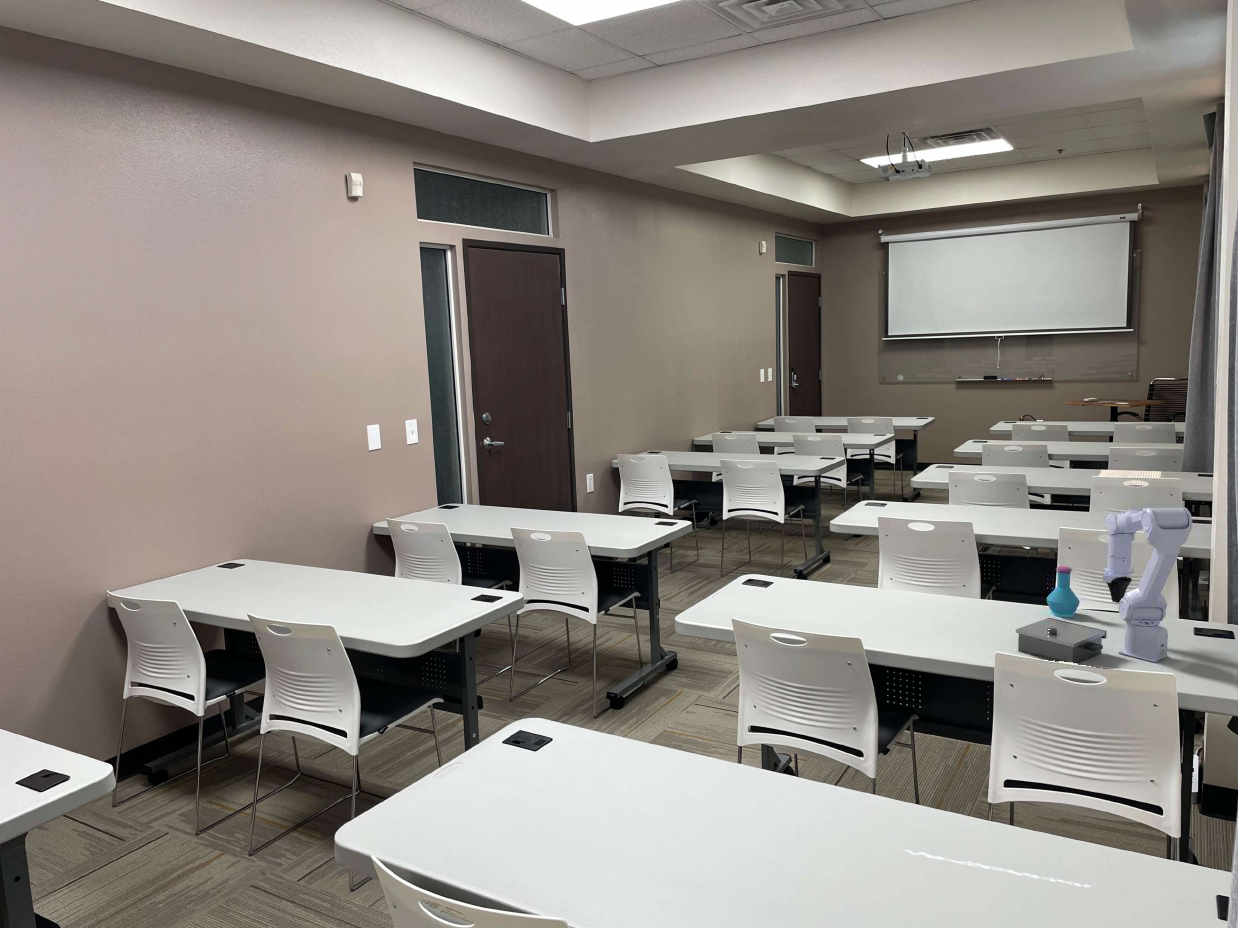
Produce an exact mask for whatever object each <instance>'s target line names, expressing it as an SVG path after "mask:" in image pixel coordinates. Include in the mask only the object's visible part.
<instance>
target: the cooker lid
mask: <svg viewBox="0 0 1238 928" xmlns="http://www.w3.org/2000/svg"><path fill="white" fill-rule="evenodd" d="M1107 632H1108V631H1107V630H1104V629H1101V628H1095V627H1091V626H1086V625H1082V624H1079V623H1073V622H1069V621H1065V620H1063V619H1062V620H1061V619H1056V618H1053V617H1052V618H1051V617H1047V618H1044V619H1041V620H1038V621H1035V622H1033V623H1030V624H1026V625H1024V626H1021V627H1019V628H1016V629H1015V633H1016V634H1018V635H1019V634H1023V635H1027V636H1030V637H1034V638H1038V639H1042V640H1046V641H1050V642H1054V643H1058V644H1062V645H1066V646H1070V647H1073V648H1074V647H1076V646H1079V645H1081V644H1084V643H1086V642H1089V641H1091V640H1094V639H1096V638H1099V637H1102V640H1103V639H1107V637H1108V636H1107V635H1108V634H1107Z"/></svg>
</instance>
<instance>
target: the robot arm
mask: <svg viewBox="0 0 1238 928" xmlns="http://www.w3.org/2000/svg"><path fill="white" fill-rule="evenodd" d="M1105 529H1106V532H1107V534H1108V546H1107V548H1108V550H1107V567H1103V569H1102V571H1103V572H1104V574H1102V582H1103V583H1106V585H1107V587H1108V589H1109V593H1110V598H1111V600H1112V601H1111V602H1113V603H1117V604H1118V607H1117V608H1118V614H1119V616H1120V618H1121V619H1122V620H1123V621H1124V622H1125V632H1124V633H1125V634H1124V648H1122V649H1120V650H1117V653H1118V654H1120V655H1124V656H1128V657H1132V658H1137V659H1140V660H1145V661H1148V662H1152V663H1156V662H1158V661H1160V660H1162V659H1164V658H1167V657H1168V656H1169V654H1168V641H1169V639H1168V638H1169V633H1168V632H1169V631H1168V629H1167V628H1166V627H1164V626H1160V624H1161V622H1163V620H1164V619H1165V618H1166V614H1167V613H1166V612H1167V611H1166V610H1167V606H1168V603H1167V600H1166V598H1165V597H1164V595H1163V594H1162V592H1163V590H1164V587H1165V585H1166V582H1167V580H1168V578H1169V577H1170V574H1171V572H1172V570H1173V567H1174V565H1175V564H1176V561H1177V558H1178V556H1179V554H1180V551H1181V550H1182V549H1181V548H1182V546H1183V545H1184V544H1186V542H1187V540H1188V538H1189V536H1190V534H1191V531H1192V529H1193V517H1192V514H1191V511H1189V509H1188V508H1187V507H1143V508H1142V510H1139V509H1137V508H1135V507H1134V508H1133V507H1132V508H1131V507H1130V508H1128V511H1121V512H1120V513H1119V514H1112V513H1109V514H1108V515H1107V516H1106V518H1105ZM1142 530H1143V533H1144V537H1145V539H1146V542H1147V544H1148V545H1150V546H1152V547H1153V548H1154V549H1153V550H1152V553H1151V556H1150V558H1149V560H1148V562H1147V565H1146V568H1145V569H1144V572H1143V574H1142V576H1141V579H1140V581H1139V583H1138V586H1137V588H1134V589H1132V590H1130V591H1128V592H1127V589H1128V587H1129V585H1130V583H1131V582H1132V580H1133V579H1132V577H1130V576H1132V575H1133V574H1134V573H1135V566H1131V565H1132V551H1133V550H1132V547H1133V541H1135V535H1136V533H1137V532H1138V531H1142Z"/></svg>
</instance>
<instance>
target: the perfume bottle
mask: <svg viewBox="0 0 1238 928" xmlns="http://www.w3.org/2000/svg"><path fill="white" fill-rule="evenodd" d="M1055 570H1056V573H1057V580H1056V581H1057V583H1056V585H1057V586H1056V587H1055V588H1054V590H1052V592H1051V593H1049V595H1048V596H1047V597H1046V602H1047V605H1048V608H1049V610H1051V611H1050V614H1051V615H1052V616H1054V617H1058V618H1073V617H1075V613H1076V612H1077V609H1078V608H1079V606H1080V602H1081V601H1080V600H1079V598H1078V597H1077V595H1076V594H1075V592H1074V591H1073V590H1072V588H1071V574H1072V572H1073V570H1072V568H1071V567H1069V566H1064V565H1063V566H1058V567H1056V568H1055Z"/></svg>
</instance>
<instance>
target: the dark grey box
mask: <svg viewBox="0 0 1238 928" xmlns="http://www.w3.org/2000/svg"><path fill="white" fill-rule="evenodd" d="M1102 641H1103V638H1102V637H1099V638H1096V639H1094V640H1091V641H1089V642H1086V643H1084V644H1081V645H1079V646H1076V647H1074V648H1073V647H1070V646H1066V645H1062V644H1058V643H1054V642H1050V641H1046V640H1042V639H1038V638H1034V637H1030V636H1027V635H1023V634H1019V633H1018V640H1017V642H1018V644H1017V652H1019V653H1023V654H1026V655H1030V656H1034V657H1036V658H1037V657H1038V658H1041V659H1045V660H1049V661H1052V660H1055V661H1064V662H1073V663H1078V664H1080V663H1083V662H1085V661H1088V660H1090V659H1093V658H1095V657H1097V656H1099V655H1101V654H1102V650H1103V649H1104V646H1103V644H1102ZM1055 661H1054V662H1055Z"/></svg>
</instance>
